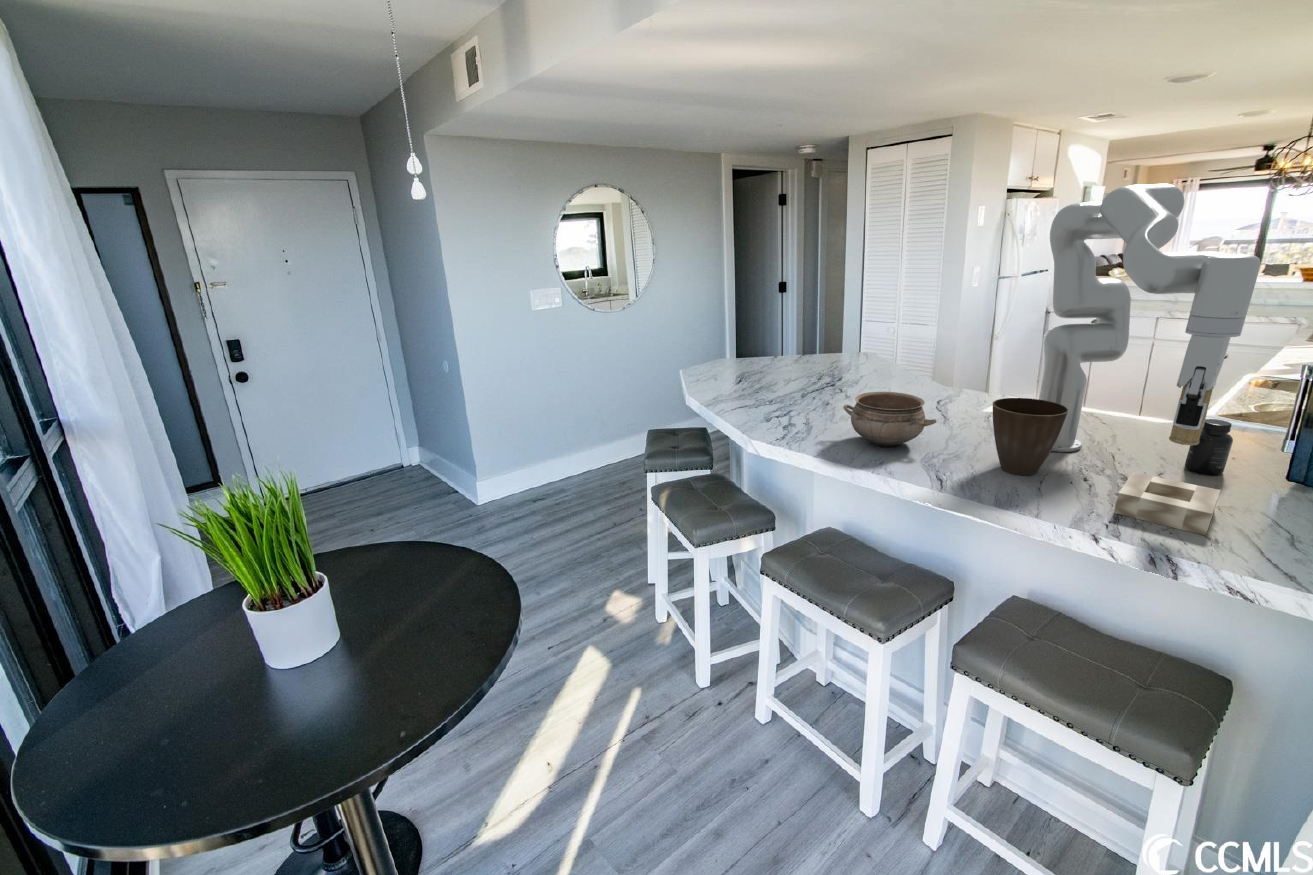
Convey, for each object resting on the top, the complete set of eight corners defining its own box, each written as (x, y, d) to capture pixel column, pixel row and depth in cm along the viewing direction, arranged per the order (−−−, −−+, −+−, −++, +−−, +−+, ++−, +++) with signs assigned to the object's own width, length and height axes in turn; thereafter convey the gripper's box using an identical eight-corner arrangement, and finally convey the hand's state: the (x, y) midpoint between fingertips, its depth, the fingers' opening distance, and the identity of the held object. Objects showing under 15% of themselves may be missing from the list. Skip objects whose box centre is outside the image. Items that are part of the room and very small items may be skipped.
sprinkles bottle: (1202, 442, 114) (1221, 374, 110) (1193, 447, 112) (1212, 378, 107) (1172, 436, 118) (1190, 370, 113) (1163, 441, 115) (1181, 374, 111)
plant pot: (971, 468, 144) (980, 405, 139) (1000, 453, 152) (1010, 393, 147) (1037, 487, 132) (1051, 419, 127) (1066, 470, 141) (1079, 406, 135)
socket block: (1113, 512, 120) (1118, 492, 119) (1128, 491, 129) (1132, 472, 128) (1205, 535, 110) (1212, 513, 109) (1214, 510, 119) (1220, 490, 118)
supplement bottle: (1175, 466, 141) (1189, 418, 137) (1202, 464, 141) (1216, 416, 137) (1203, 477, 134) (1218, 427, 130) (1231, 475, 135) (1246, 425, 131)
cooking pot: (944, 442, 162) (949, 399, 158) (919, 463, 148) (924, 416, 144) (856, 425, 178) (859, 386, 174) (827, 443, 164) (829, 401, 160)
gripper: (1193, 318, 115) (1170, 408, 121) (1180, 330, 105) (1155, 428, 111) (1246, 321, 110) (1219, 415, 116) (1238, 334, 99) (1209, 437, 105)
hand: (1188, 420), depth 113 cm, fingers closed on sprinkles bottle, 4 cm apart
